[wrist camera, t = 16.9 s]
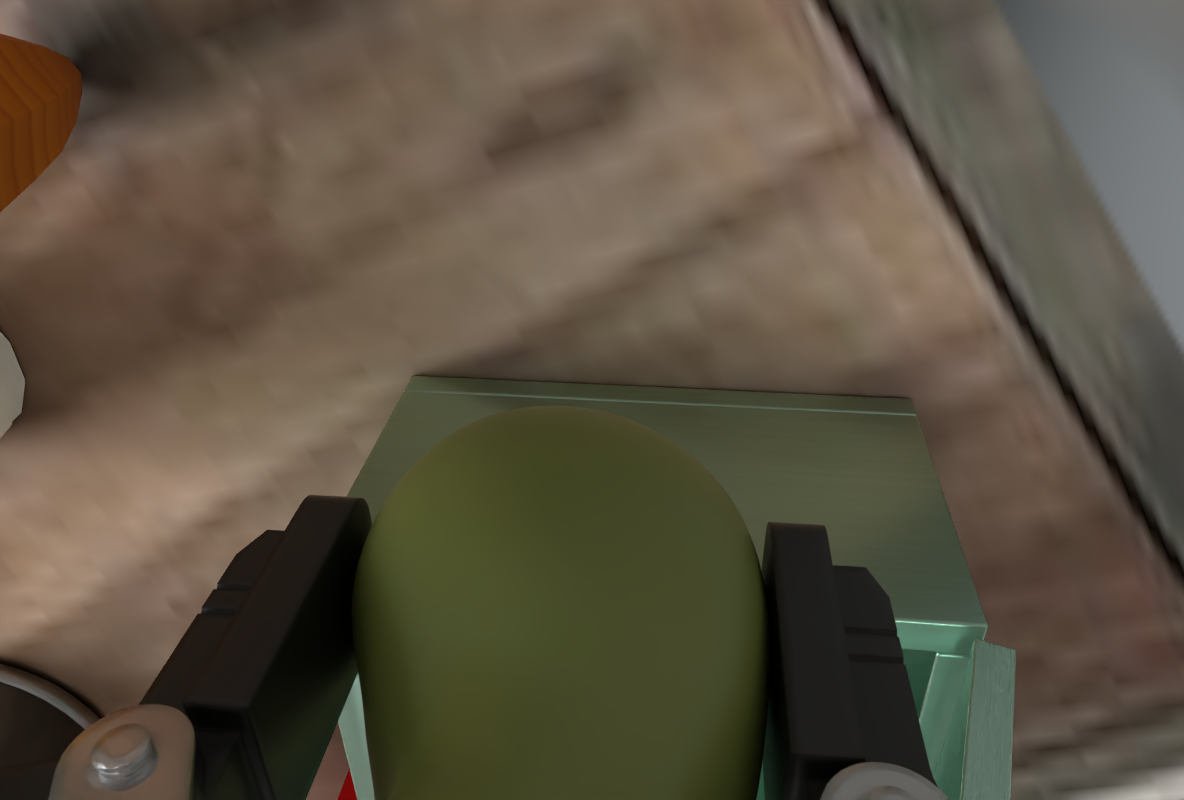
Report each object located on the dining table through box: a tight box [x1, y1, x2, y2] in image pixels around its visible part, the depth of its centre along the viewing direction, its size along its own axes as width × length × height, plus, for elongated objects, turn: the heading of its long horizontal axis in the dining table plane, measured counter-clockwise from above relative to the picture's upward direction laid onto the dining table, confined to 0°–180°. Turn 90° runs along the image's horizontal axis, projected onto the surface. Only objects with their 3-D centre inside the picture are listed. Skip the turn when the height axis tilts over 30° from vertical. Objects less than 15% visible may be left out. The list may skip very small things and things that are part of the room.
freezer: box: [338, 376, 988, 800], centre depth 27 cm, size 15×14×9 cm
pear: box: [352, 406, 770, 800], centre depth 10 cm, size 6×5×10 cm
